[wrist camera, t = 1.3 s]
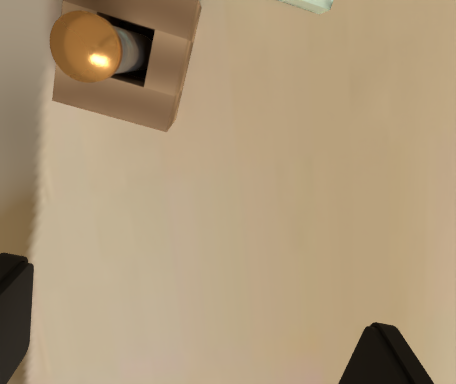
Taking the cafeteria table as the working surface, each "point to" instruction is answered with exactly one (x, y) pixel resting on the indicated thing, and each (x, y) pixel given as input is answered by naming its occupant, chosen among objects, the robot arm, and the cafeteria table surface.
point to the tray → (311, 5)
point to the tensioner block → (157, 68)
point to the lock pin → (96, 47)
